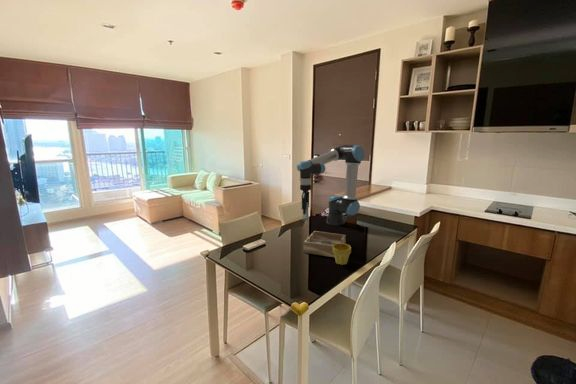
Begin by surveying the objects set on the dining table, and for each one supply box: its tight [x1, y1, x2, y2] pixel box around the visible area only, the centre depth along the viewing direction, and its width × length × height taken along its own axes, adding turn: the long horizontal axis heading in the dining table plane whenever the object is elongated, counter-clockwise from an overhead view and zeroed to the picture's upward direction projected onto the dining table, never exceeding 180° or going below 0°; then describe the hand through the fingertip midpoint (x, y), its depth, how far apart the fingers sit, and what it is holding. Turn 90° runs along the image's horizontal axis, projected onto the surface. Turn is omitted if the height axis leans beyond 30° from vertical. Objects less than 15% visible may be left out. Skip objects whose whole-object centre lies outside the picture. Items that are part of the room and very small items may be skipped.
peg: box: [302, 202, 309, 221], centre depth 190 cm, size 4×4×12 cm
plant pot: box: [333, 243, 352, 266], centre depth 158 cm, size 10×10×10 cm
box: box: [303, 230, 347, 258], centre depth 178 cm, size 22×22×7 cm
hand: (305, 217), depth 191 cm, fingers closed on peg, 4 cm apart
